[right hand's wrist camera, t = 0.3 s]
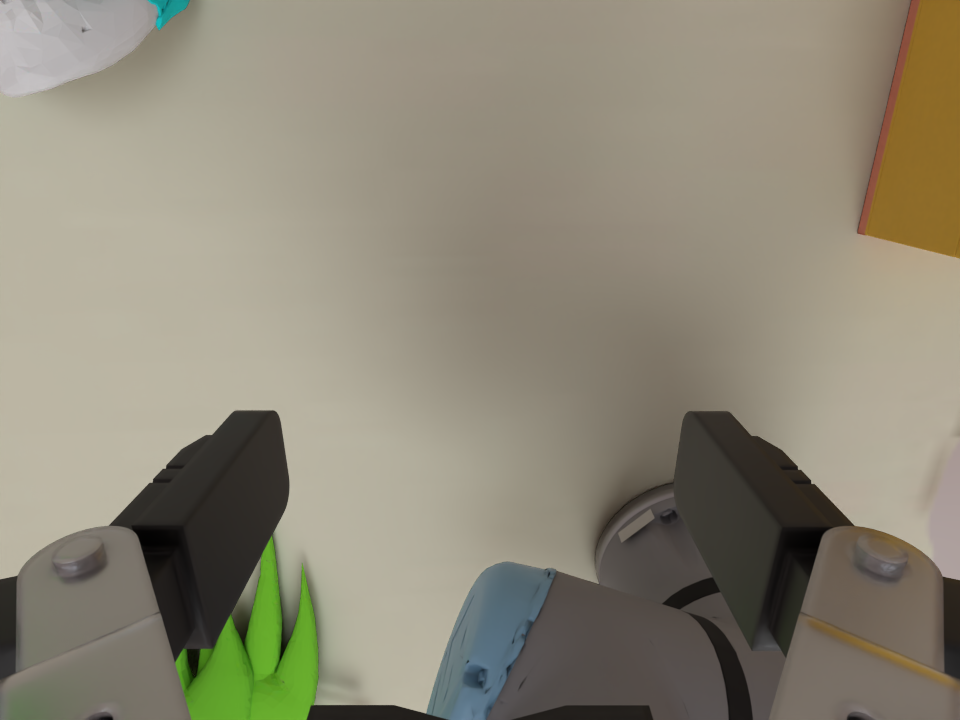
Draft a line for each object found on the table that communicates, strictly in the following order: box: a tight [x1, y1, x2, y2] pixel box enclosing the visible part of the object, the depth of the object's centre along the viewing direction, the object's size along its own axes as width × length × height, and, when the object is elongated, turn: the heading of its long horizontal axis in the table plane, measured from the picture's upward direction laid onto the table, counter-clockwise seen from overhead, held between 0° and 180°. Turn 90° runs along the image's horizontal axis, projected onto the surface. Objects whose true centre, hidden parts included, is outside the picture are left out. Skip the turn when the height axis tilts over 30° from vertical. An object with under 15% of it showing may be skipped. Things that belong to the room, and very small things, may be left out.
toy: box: [175, 536, 319, 720], centre depth 50 cm, size 28×5×30 cm
